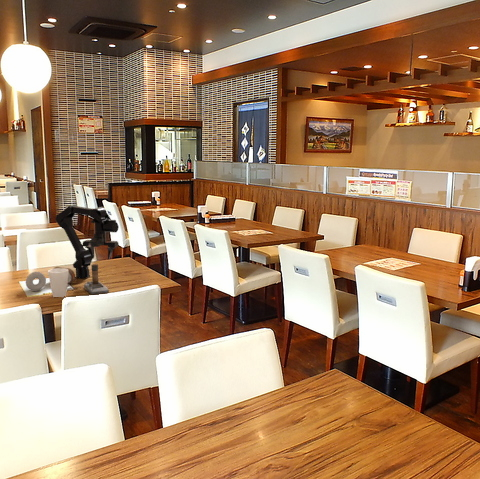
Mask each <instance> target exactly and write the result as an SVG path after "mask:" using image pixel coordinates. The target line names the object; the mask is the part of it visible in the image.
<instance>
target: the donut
mask: <svg viewBox="0 0 480 479" xmlns="http://www.w3.org/2000/svg"><path fill="white" fill-rule="evenodd" d="M36 279H38V283H36V284H35V283H34V280H36ZM46 282H47V278H46V276H45V274H43V273H42V272H40V271H33V272H31V273H29V274H28V276H27V277H26V279H25V286H26V287H27V289H29V291H32V292H37V291H38V292H39V291H40V290H42V289H43V288H44V287H45V286H46Z"/></svg>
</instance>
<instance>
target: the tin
mask: <svg viewBox="0 0 480 479" xmlns="http://www.w3.org/2000/svg"><path fill="white" fill-rule="evenodd" d="M56 268H62V267H60V266H56V267H54V268H52V269H56ZM65 268H66V269H68V271H69V275H68V283H67V285H69V284H72V283H74V282H75V280H76V278H75V277H76V272H74V270H72V269H71V268H69V267H65Z"/></svg>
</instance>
